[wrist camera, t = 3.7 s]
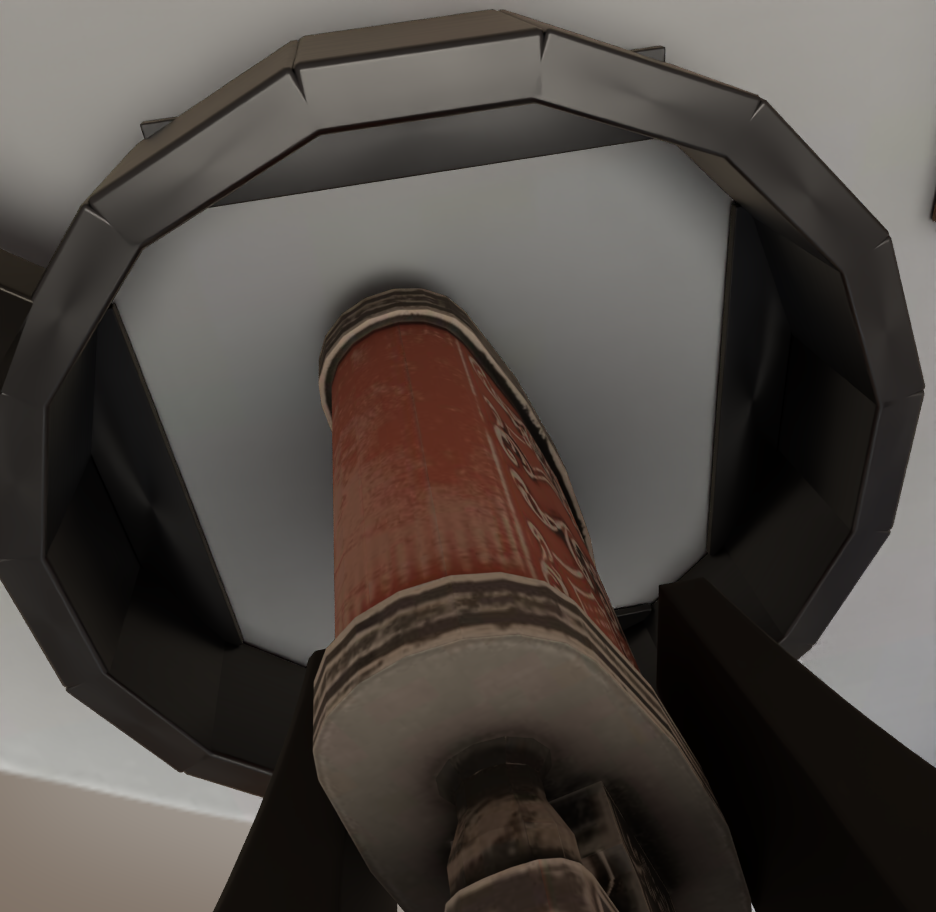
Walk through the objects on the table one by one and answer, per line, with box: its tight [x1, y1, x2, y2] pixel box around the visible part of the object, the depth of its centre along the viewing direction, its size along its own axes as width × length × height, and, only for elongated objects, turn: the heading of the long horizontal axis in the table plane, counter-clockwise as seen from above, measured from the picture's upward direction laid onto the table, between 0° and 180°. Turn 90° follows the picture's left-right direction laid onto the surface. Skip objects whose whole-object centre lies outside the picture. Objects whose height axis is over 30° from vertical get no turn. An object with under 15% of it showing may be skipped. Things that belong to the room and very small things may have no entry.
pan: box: [0, 9, 925, 798], centre depth 13 cm, size 19×22×3 cm
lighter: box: [313, 288, 752, 912], centre depth 10 cm, size 8×3×10 cm, turn 24°
